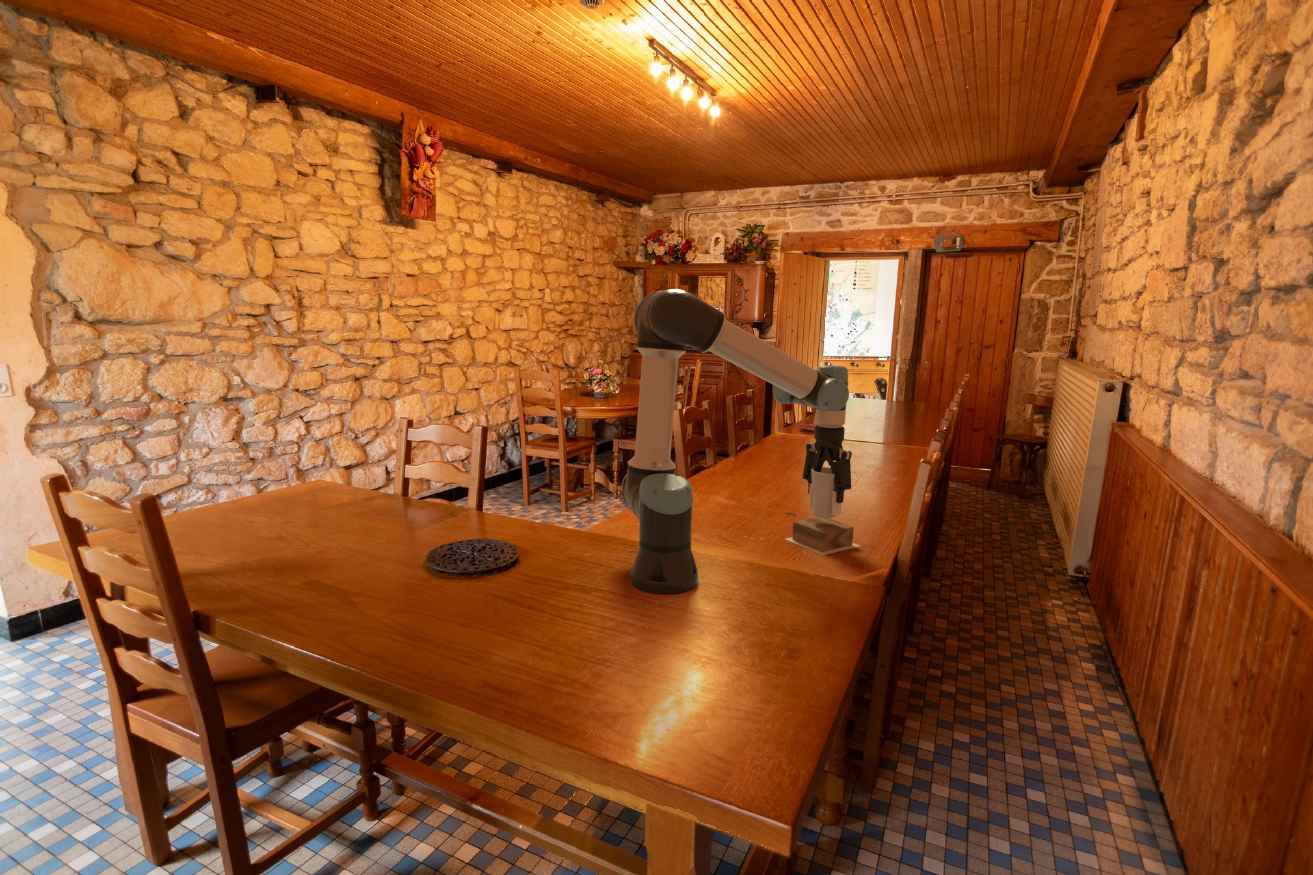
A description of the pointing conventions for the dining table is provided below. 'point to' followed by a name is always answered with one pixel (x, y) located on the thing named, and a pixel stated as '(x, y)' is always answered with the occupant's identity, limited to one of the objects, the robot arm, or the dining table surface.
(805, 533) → the base block
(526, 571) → the dining table surface
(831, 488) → the cup
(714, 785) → the dining table surface
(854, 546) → the mat
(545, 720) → the dining table surface
